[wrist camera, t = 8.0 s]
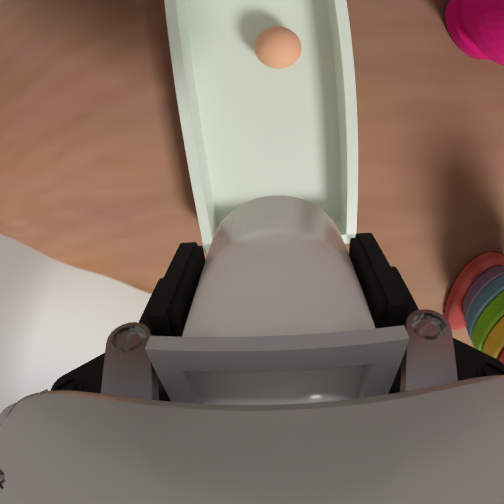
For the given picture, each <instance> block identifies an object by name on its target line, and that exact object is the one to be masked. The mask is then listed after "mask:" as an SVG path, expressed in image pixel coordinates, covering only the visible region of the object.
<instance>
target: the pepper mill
mask: <svg viewBox="0 0 504 504" xmlns="http://www.w3.org/2000/svg"><path fill="white" fill-rule="evenodd" d="M445 21H446V26H447V28H448V31H449V33H450V35H451V37H452V39H453V40H454V42H455V43H456V44H457V46H458V47H459V48H460V49H461V50H462V51H463V52H465V53H466V54H467V55H469V56H471V57H473V58H476V59H491V60H492V61H494V62H496V63H498V64H501V65H504V0H450V1H449V2H448V3H447V6H446V8H445Z"/></svg>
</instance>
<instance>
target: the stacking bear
mask: <svg viewBox="0 0 504 504" xmlns="http://www.w3.org/2000/svg"><path fill="white" fill-rule="evenodd" d="M444 317H445V318H446V319H447V320H448V322H449V324H450V326H451V329H454V330H459V329H461V328H464V327H466V328H467V331H468V334H469V337H470V340H471V342H472V343H473V346H474V347H475V349H477V350H479V351H481V352H483V353H486V354H488V355H490V356H492V357H494V358H496V359H498V360H499V361H501V362H502V363H503V364H504V256H503V255H502V254H500V253H497V252H487V253H484V254H482V255H479V256H478V257H476V258H475V259H473V260H472V261H471V262H469V263H468V264H467V265H466V266H465V267H464V269H463V270H462V271H461V272H460V274H459V275H458V277H457V279H456V280H455V282H454V284H453V286H452V289H451V291H450V293H449V296H448V299H447V302H446V306H445V314H444Z"/></svg>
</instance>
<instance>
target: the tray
mask: <svg viewBox="0 0 504 504" xmlns="http://www.w3.org/2000/svg"><path fill="white" fill-rule="evenodd" d="M164 3H165V12H166V21H167V29H168V38H169V46H170V53H171V61H172V68H173V75H174V82H175V89H176V96H177V102H178V109H179V115H180V122H181V128H182V134H183V140H184V146H185V151H186V157H187V163H188V168H189V174H190V179H191V185H192V190H193V195H194V201H195V206H196V211H197V216H198V221H199V226H200V231H201V236H202V241H203V245H204V250H205V253H208V252H209V249H210V246H211V243H212V240H213V237H214V235H215V232H216V230H217V228H218V226H219V225H220V223H221V222H222V221H223V219H224V218H225V217H226V216H227V215H228V214H229V213H230V212H232V211H233V210H234V209H236V208H237V207H238V206H240V205H242V204H244V203H246V202H248V201H251V200H253V199H256V198H260V197H265V196H273V195H284V196H291V197H296V198H300V199H303V200H305V201H308V202H310V203H312V204H314V205H316V206H317V207H319V208H320V209H322V210H323V211H324V212H325V213H326V214H327V215H328V216H329V217H330V218H331V219H332V220H333V222H334V223H335V224H336V226H337V228H338V230H339V232H340V234H341V236H342V239H343V241H344V244H347V243H350V239H351V238H355V235H356V227H357V201H358V128H357V103H356V86H355V73H354V61H353V50H352V41H351V32H350V24H349V17H348V10H347V3H346V0H164ZM274 26H280V27H285V28H288V29H290V30H291V31H293V32H294V33H295V34H296V35H297V36H298V38H299V40H300V42H301V54H300V56H299V58H298V60H297V61H296V62H295V63H294V64H292V65H291V66H289V67H286V68H282V69H276V68H271V67H268V66H266V65H264V64H263V63H262V62H261V61H260V60H259V59H258V58H257V56H256V54H255V51H254V43H255V40H256V38H257V36H258V35H259V34H260V33H261V32H262V31H263V30H265V29H267V28H269V27H274Z"/></svg>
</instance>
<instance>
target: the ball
mask: <svg viewBox="0 0 504 504" xmlns="http://www.w3.org/2000/svg"><path fill="white" fill-rule="evenodd" d="M254 51H255V54H256V56H257V58H258V59H259V60H260V61H261V62H262V63H263V64H264V65H266V66H268V67H271V68H276V69H282V68H286V67H289V66H291V65H292V64H294V63H295V62H296V61H297V60H298V58H299V56H300V54H301V42H300V40H299V38H298V36H297V35H296V34H295V33H294V32H293V31H291V30H290V29H288V28H285V27H280V26H274V27H269V28H267V29H265V30H263V31H262V32H261V33H260V34H259V35H258V36H257V38H256V40H255V43H254Z"/></svg>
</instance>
